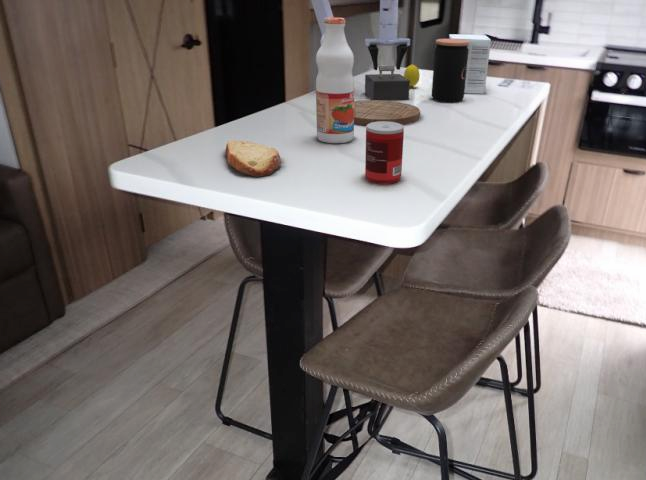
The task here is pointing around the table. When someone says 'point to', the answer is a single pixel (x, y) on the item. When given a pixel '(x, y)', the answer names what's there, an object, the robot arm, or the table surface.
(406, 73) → the lemon
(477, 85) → the supplement box
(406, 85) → the dark grey square box
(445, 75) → the coffee jar
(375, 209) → the table surface
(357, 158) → the table surface
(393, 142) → the canned food
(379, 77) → the dark grey box lid
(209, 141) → the table surface
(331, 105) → the fruit juice
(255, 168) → the bread slice
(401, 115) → the trivet
